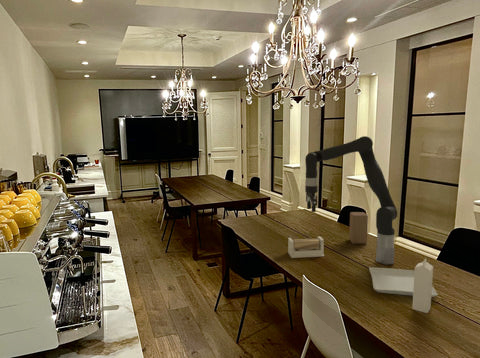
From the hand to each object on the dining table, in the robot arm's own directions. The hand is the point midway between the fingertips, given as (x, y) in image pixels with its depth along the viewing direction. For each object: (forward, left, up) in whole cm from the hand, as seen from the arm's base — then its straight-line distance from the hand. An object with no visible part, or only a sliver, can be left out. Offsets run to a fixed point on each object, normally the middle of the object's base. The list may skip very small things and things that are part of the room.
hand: (311, 210), depth 215 cm
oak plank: (-4, +4, -23) cm, 24 cm away
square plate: (-52, -29, -28) cm, 66 cm away
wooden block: (+14, -37, -27) cm, 48 cm away
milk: (-74, -26, -27) cm, 83 cm away
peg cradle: (-4, +5, -27) cm, 28 cm away
